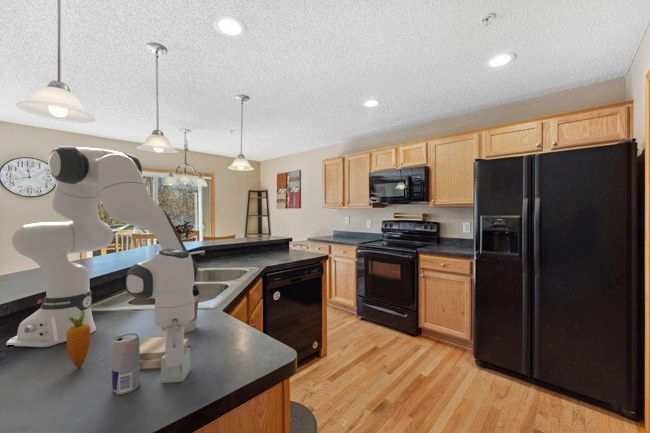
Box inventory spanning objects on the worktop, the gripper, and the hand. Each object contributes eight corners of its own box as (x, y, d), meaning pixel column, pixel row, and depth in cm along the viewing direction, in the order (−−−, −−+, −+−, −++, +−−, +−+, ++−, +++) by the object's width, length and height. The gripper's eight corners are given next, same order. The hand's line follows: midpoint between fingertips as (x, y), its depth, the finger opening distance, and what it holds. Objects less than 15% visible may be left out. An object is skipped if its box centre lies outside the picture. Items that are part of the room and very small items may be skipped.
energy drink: (121, 382, 68) (121, 333, 68) (144, 380, 69) (143, 332, 69) (106, 396, 63) (105, 343, 63) (131, 394, 64) (130, 342, 64)
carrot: (70, 375, 72) (69, 316, 72) (63, 369, 74) (62, 313, 74) (94, 366, 76) (93, 311, 76) (87, 361, 79) (86, 308, 79)
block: (161, 382, 68) (160, 358, 68) (170, 371, 73) (170, 348, 73) (182, 381, 69) (182, 357, 69) (190, 370, 74) (189, 347, 74)
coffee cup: (204, 325, 104) (203, 284, 104) (191, 335, 95) (190, 291, 95) (183, 324, 104) (182, 284, 104) (168, 334, 96) (167, 290, 96)
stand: (118, 370, 74) (118, 357, 74) (145, 347, 87) (145, 335, 87) (169, 367, 75) (169, 354, 75) (189, 344, 88) (188, 333, 88)
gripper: (190, 325, 63) (190, 386, 63) (188, 300, 81) (189, 348, 81) (157, 331, 60) (158, 395, 60) (163, 304, 78) (164, 353, 78)
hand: (176, 368), depth 71 cm, fingers closed on block, 6 cm apart
